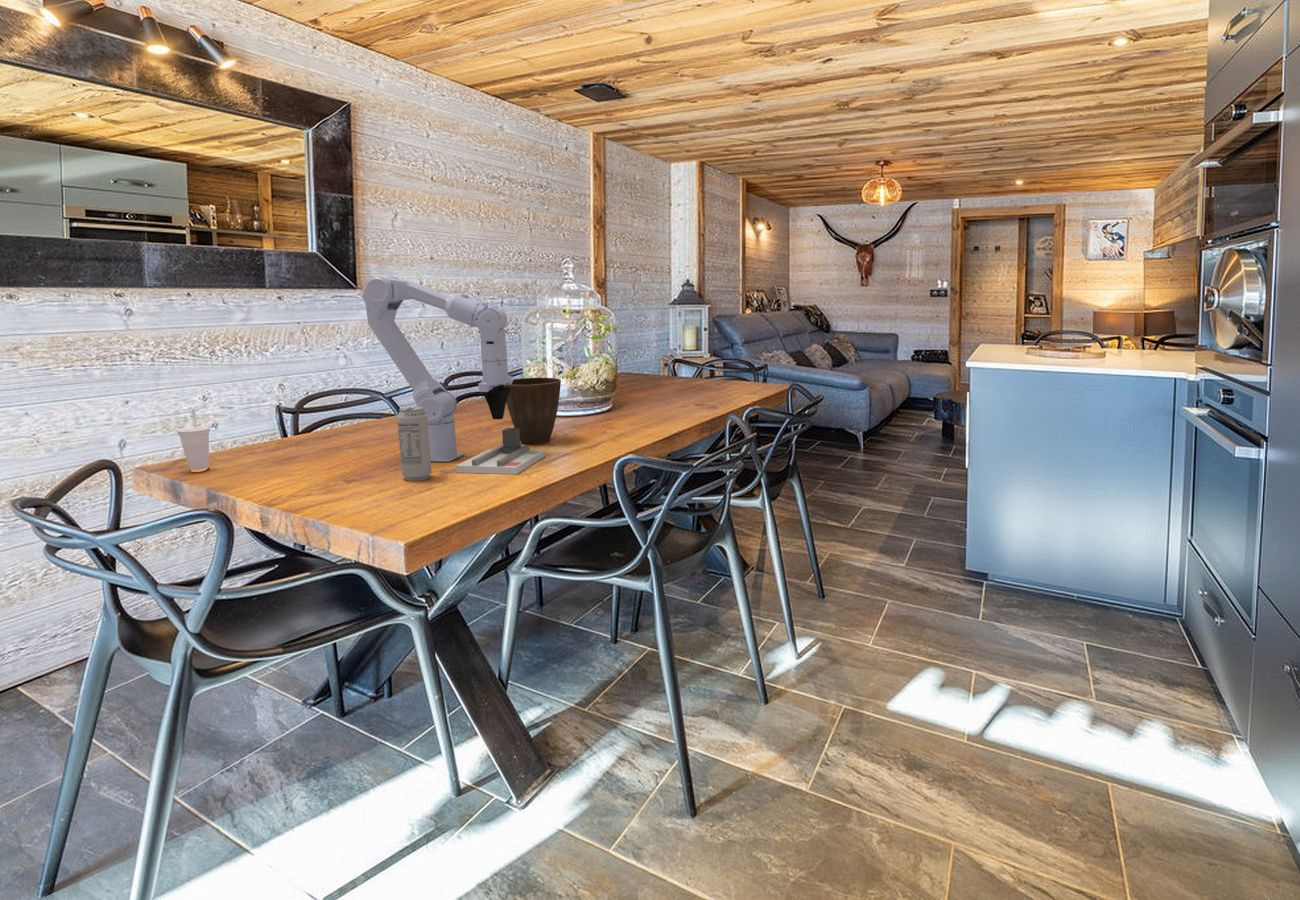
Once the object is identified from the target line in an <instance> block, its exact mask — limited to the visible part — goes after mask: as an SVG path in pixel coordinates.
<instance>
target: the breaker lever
mask: <svg viewBox="0 0 1300 900" xmlns="http://www.w3.org/2000/svg"><path fill="white" fill-rule="evenodd" d="M501 432H502V445H503V454H510V453H512V452H514V451H516V450H518V449H520V448H521V447H522V445H521V442H520V434H519V428H514V427H506V428H504V429H502V431H501Z"/></svg>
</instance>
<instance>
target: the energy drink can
mask: <svg viewBox="0 0 1300 900" xmlns="http://www.w3.org/2000/svg"><path fill="white" fill-rule="evenodd" d="M423 409H424V408H423V407H418V406H406V407H401V408H399V409H398V411H399V412H398V415H397V416H396V421H397V431H398V432H397V433H398V434H397V435H398V441H399V443H398V444H399V452H400V453H399V454H400V465H401V475H402V477H404V479H405V481H408V482H418V481H419V482H420V481H425V480H427V479H430V476H431V474H432V461H431V458H430V446H429V433H428V421H427V414H426V413H425V412H424V410H423Z"/></svg>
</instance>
